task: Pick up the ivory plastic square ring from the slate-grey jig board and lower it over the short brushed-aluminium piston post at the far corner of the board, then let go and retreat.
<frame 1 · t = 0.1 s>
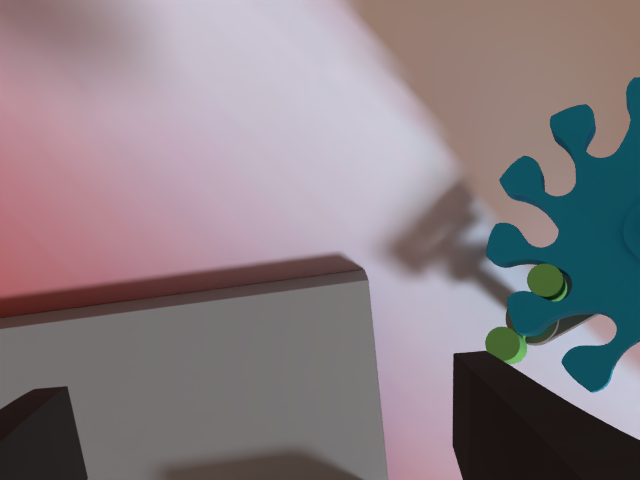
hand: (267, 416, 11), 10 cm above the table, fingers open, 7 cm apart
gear: (582, 212, 21), on the table
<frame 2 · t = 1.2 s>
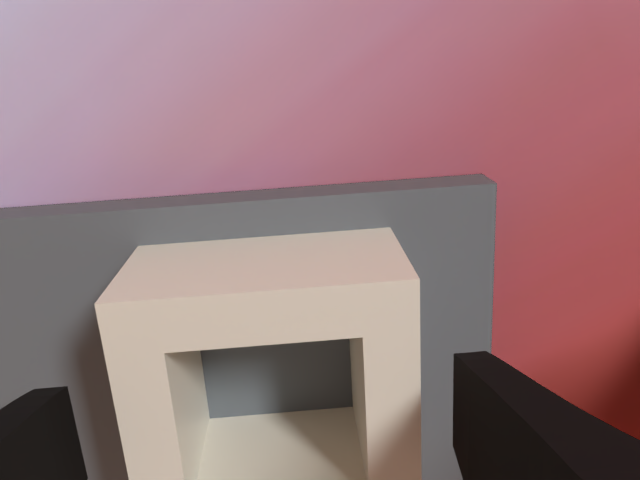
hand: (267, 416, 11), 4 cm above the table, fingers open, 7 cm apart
ring: (275, 348, 13), point 1 cm above the table, touching jig board
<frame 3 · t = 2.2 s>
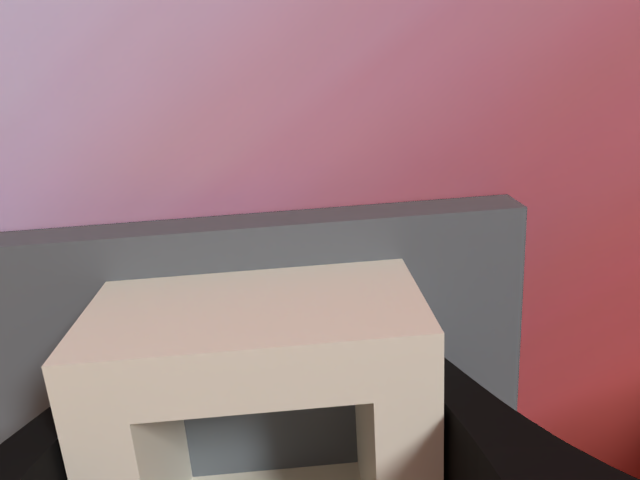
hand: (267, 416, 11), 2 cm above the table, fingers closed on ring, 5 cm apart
ring: (268, 398, 12), point 1 cm above the table, touching gripper, jig board
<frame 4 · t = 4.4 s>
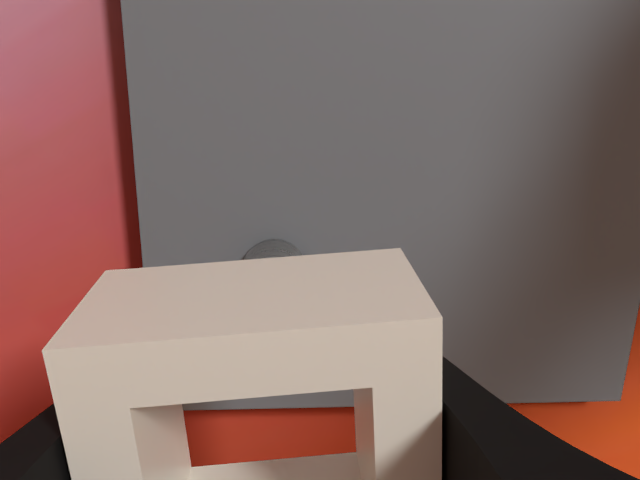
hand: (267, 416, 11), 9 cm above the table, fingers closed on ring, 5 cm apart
piston: (274, 258, 19), resting on jig board
jig board: (407, 51, 18), on the table
ring: (267, 387, 12), point 8 cm above the table, touching gripper
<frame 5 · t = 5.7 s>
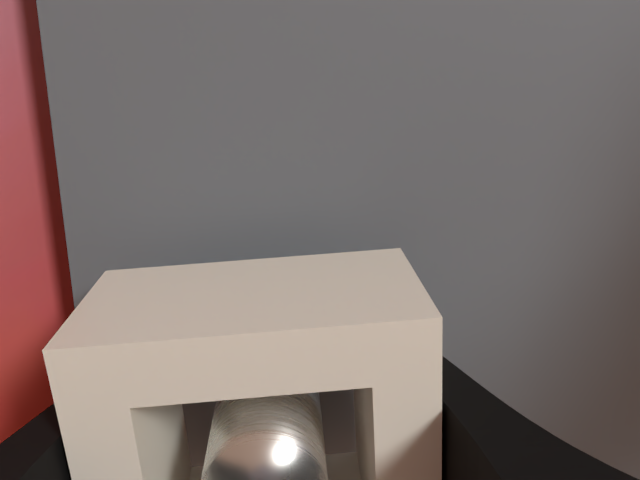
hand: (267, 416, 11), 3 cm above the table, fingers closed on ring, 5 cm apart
piston: (270, 342, 14), resting on jig board
jig board: (463, 53, 12), on the table
ring: (267, 387, 12), point 2 cm above the table, touching gripper
when the fingers open (3 cm above the table, at t = 6.6 s): ring drops 1 cm, resting on jig board.
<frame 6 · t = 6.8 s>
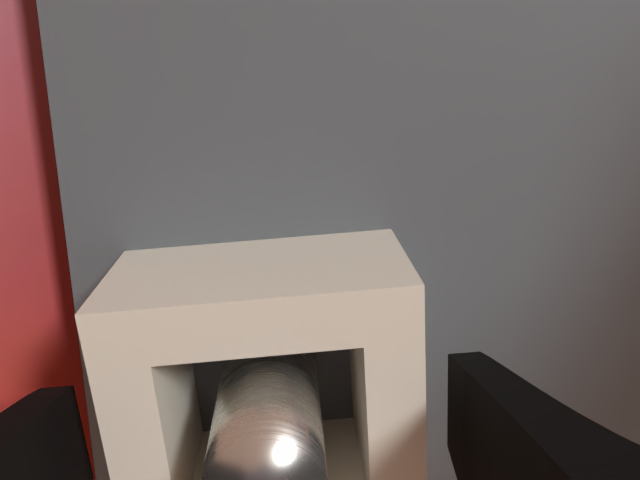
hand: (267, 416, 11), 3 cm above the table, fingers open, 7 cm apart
piston: (270, 342, 14), resting on jig board
jig board: (464, 53, 12), on the table
ring: (271, 357, 13), point 1 cm above the table, touching jig board
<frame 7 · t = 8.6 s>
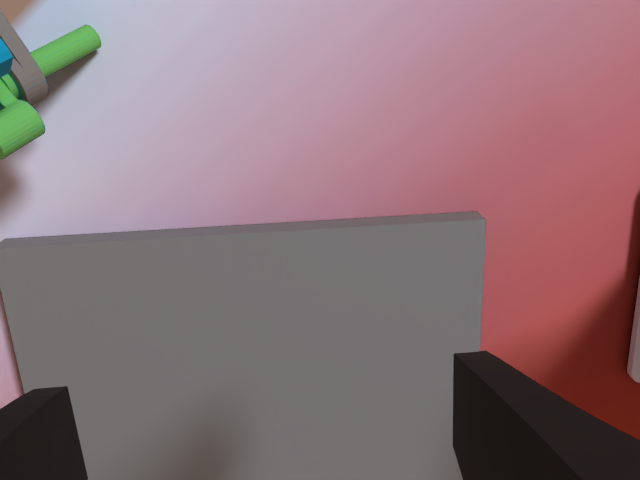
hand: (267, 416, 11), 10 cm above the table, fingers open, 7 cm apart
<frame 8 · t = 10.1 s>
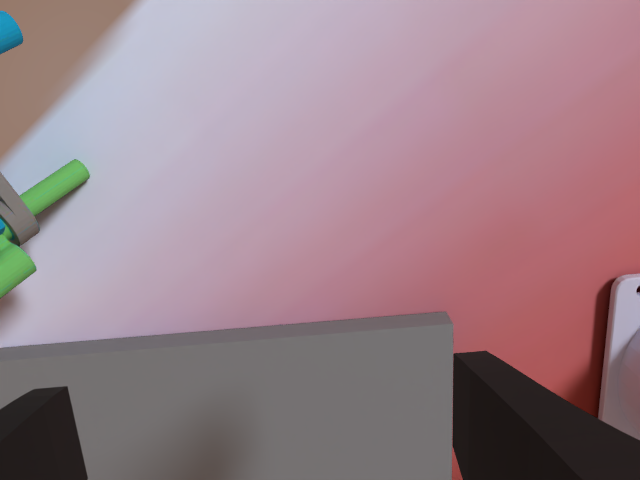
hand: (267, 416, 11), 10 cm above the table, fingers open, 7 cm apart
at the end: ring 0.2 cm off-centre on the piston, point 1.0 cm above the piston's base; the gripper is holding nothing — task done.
